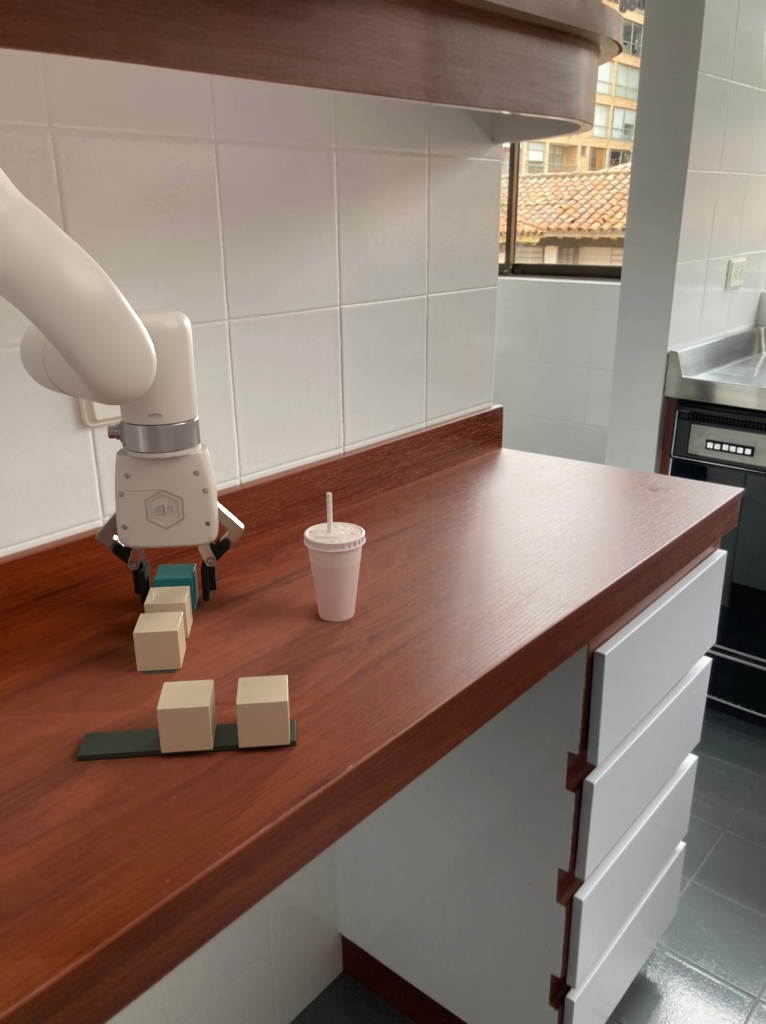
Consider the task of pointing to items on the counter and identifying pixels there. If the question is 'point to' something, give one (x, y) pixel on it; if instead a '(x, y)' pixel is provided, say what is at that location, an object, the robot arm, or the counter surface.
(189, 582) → the teal rectangular block
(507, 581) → the counter surface
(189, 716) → the dark strip with cubes
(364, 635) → the counter surface
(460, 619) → the counter surface
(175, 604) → the beige double cube
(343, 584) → the smoothie
